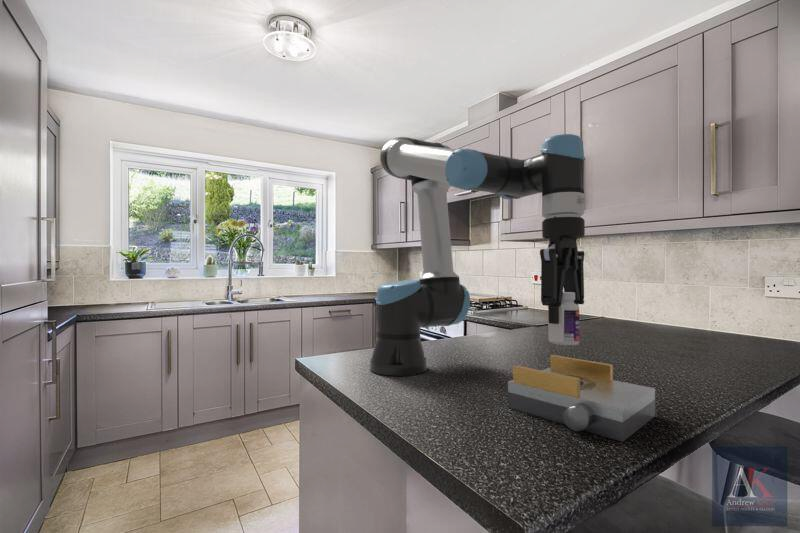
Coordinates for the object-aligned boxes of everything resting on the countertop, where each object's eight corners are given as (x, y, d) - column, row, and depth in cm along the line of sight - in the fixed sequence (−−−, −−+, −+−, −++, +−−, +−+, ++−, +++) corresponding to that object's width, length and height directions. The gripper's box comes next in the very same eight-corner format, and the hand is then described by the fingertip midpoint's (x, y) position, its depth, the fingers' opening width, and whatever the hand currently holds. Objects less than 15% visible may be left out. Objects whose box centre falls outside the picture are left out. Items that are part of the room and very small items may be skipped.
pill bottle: (583, 346, 71) (582, 293, 71) (551, 345, 72) (551, 292, 73) (575, 341, 77) (575, 291, 77) (546, 340, 78) (546, 291, 78)
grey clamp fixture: (499, 411, 72) (498, 368, 72) (549, 390, 85) (549, 353, 85) (615, 447, 57) (615, 393, 58) (655, 416, 70) (654, 371, 70)
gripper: (559, 210, 66) (560, 348, 66) (602, 220, 78) (603, 336, 78) (519, 215, 72) (520, 342, 71) (565, 223, 84) (566, 332, 83)
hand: (563, 339), depth 75 cm, fingers closed on pill bottle, 5 cm apart
